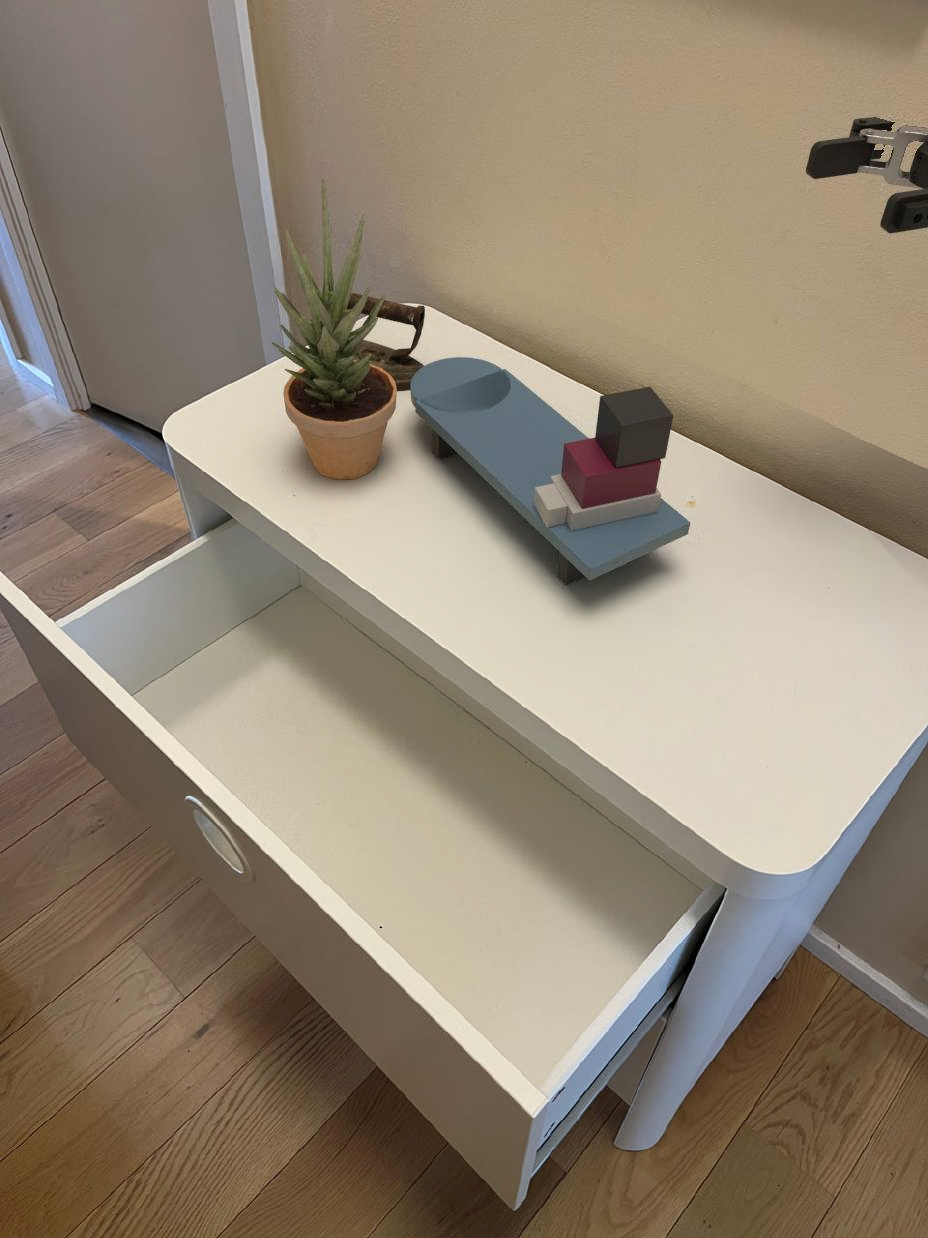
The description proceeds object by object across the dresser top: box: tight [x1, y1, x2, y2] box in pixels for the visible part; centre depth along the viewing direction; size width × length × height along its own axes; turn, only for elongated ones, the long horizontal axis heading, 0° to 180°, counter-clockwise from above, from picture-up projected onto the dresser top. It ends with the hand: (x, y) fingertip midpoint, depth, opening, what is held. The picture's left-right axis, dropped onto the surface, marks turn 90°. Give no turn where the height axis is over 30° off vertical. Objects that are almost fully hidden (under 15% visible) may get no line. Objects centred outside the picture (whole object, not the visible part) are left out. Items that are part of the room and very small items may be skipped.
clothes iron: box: [346, 291, 426, 391], centre depth 93 cm, size 7×11×10 cm, turn 73°
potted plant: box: [271, 173, 398, 480], centre depth 78 cm, size 10×10×25 cm
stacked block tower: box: [534, 386, 674, 531], centre depth 71 cm, size 9×5×9 cm, turn 108°
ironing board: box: [409, 356, 691, 586], centre depth 82 cm, size 30×10×5 cm, turn 32°
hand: (847, 186), depth 61 cm, fingers open, 8 cm apart
